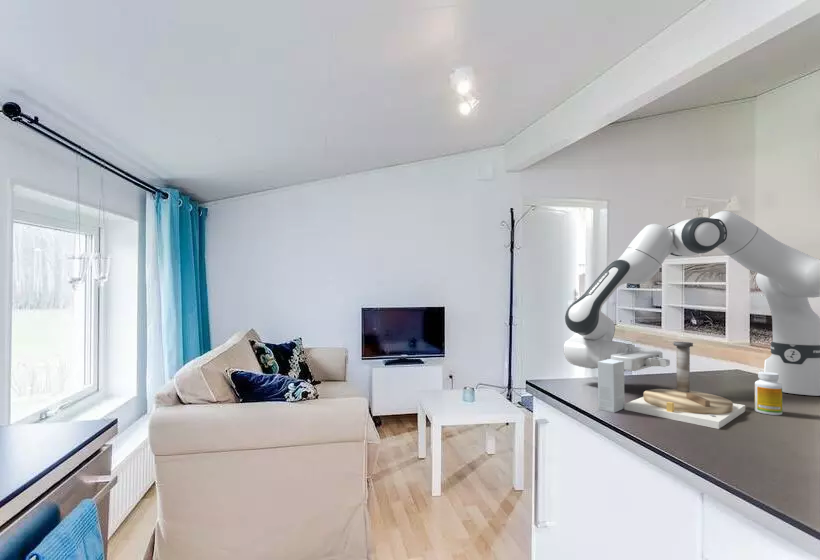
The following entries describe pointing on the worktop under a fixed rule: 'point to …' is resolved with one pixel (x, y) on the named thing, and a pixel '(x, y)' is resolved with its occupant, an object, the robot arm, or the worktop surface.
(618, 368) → the skincare box
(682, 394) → the dial
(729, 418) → the dial stand
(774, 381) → the supplement bottle
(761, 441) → the worktop surface
